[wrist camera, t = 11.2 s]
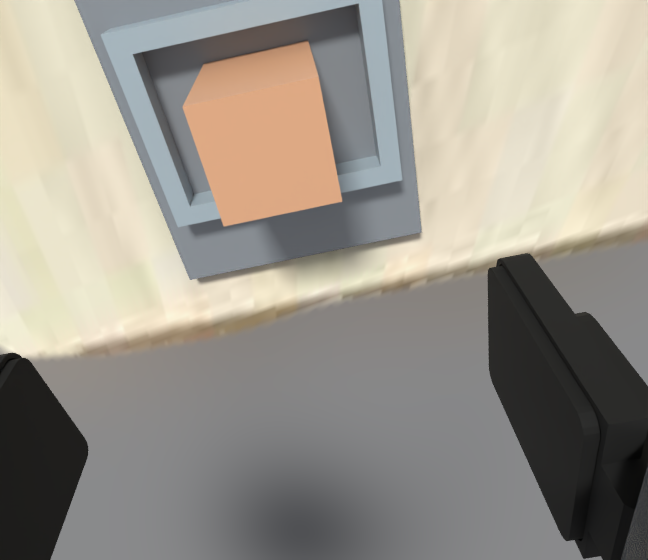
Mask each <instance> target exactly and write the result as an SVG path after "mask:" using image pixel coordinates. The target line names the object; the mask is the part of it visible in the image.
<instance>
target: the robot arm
mask: <svg viewBox="0 0 648 560" xmlns="http://www.w3.org/2000/svg"><path fill="white" fill-rule="evenodd" d="M488 324H489V325H488V331H489V332H488V333H489V371H490V376H491V379H492V383H493V385H494V387H495V390H496V392H497V394H498V396H499V398H500V400H501V403H502V405H503V407H504V409H505V411H506V414H507V416H508V418H509V421H510V423H511V425H512V427H513V429H514V432H515V434H516V436H517V438H518V440H519V443H520V445H521V447H522V449H523V452H524V454H525V456H526V458H527V460H528V462H529V465H530V467H531V469H532V471H533V474H534V476H535V478H536V480H537V482H538V485H539V487H540V489H541V491H542V494H543V496H544V498H545V500H546V502H547V505H548V507H549V509H550V511H551V514H552V516H553V518H554V520H555V522H556V524H557V527H558V529H559V531H560V533H561V535H562V536H563V538H564V539H565V540H566V541H570V540H575V542H576V544H577V546H578V548H579V550H580V552H581V555H582V557H583V558H584V559H585V558H591V557H597V556H601V557H602V559H603V560H648V386H647V385H646V383H645V382H644V381H643V379H642V378H641V377H640V376H639V374H638V373H637V372H636V371H635V369H634V368H633V367H632V366H631V364H630V363H629V362H628V360H627V359H626V358H625V356H624V355H623V354H622V353H621V351H620V350H619V349H618V348H617V346H616V345H615V344H614V342H613V341H612V340H611V338H610V337H609V336H608V335H607V333H606V332H605V331H604V330H603V328H602V327H601V326H600V324H599V323H598V322H597V321H596V319H595V318H593V316H591V315H590V314H589V313H586V312H582V313H577V314H574V312H573V311H572V309H571V308H570V307H569V305H568V304H567V303H566V301H565V300H564V299H563V297H562V296H561V295H560V293H559V292H558V291H557V289H556V288H555V286H554V285H553V284H552V282H551V281H550V280H549V279H548V277H547V276H546V274H545V273H544V272H543V270H542V269H541V268H540V266H539V265H538V263H537V262H536V261H535V259H534V258H533V257H532V256H531V255H530V254H528V253H526V254H520V255H515V256H510V257H505V258H500V259H498V261H497V266H496V267H493V268H489V270H488ZM87 456H88V445H87V442H86V440H85V438H84V437H83V435H82V434H81V432H80V431H79V430H78V428H77V427H76V425H75V424H74V422H73V421H72V420H71V418H70V417H69V415H68V414H67V413H66V411H65V410H64V408H63V407H62V406H61V404H60V403H59V402H58V400H57V398H56V397H55V396H54V394H53V393H52V391H51V390H50V389H49V387H48V386H47V384H46V383H45V382H44V380H43V379H42V377H41V376H40V375H39V373H38V372H37V370H36V369H35V367H34V366H33V365H32V363H31V362H30V361H29V360H28V359H26V358H22V357H21V356H20V355H18V354H16V353H8V354H2V355H0V560H50V559H51V556H52V553H53V551H54V548H55V545H56V542H57V540H58V537H59V534H60V531H61V529H62V526H63V523H64V520H65V518H66V515H67V512H68V509H69V507H70V504H71V501H72V498H73V496H74V493H75V490H76V487H77V484H78V482H79V479H80V476H81V473H82V470H83V468H84V465H85V463H86V460H87Z"/></svg>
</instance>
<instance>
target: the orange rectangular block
mask: <svg viewBox="0 0 648 560" xmlns="http://www.w3.org/2000/svg"><path fill="white" fill-rule="evenodd" d="M182 107H183V110H184V113H185V116H186V119H187V122H188V125H189V127H190V130H191V133H192V136H193V139H194V142H195V145H196V148H197V151H198V154H199V156H200V159H201V162H202V165H203V168H204V171H205V174H206V177H207V180H208V182H209V185H210V188H211V191H212V194H213V197H214V200H215V203H216V206H217V208H218V211H219V214H220V217H221V220H222V223H223V226H229V225H234V224H238V223H243V222H248V221H253V220H257V219H262V218H267V217H272V216H276V215H281V214H286V213H291V212H295V211H300V210H305V209H310V208H314V207H319V206H324V205H329V204H333V203H338V202H342V197H341V191H340V186H339V181H338V176H337V170H336V165H335V160H334V155H333V149H332V144H331V139H330V134H329V128H328V123H327V118H326V113H325V108H324V102H323V97H322V92H321V87H320V81H319V76H318V73H317V69H316V66H315V62H314V59H313V55H312V52H311V49H310V45H309V42H308V40H306V41H302V42H298V43H293V44H289V45H284V46H280V47H275V48H271V49H267V50H262V51H258V52H253V53H249V54H244V55H240V56H235V57H231V58H227V59H222V60H218V61H213V62H209V63H204V64H203V66H202V68H201V70H200V72H199V74H198V76H197V78H196V80H195V82H194V84H193V86H192V88H191V90H190V92H189V94H188V96H187V98H186V100H185V102H184V104H183V106H182Z"/></svg>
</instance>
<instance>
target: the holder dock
mask: <svg viewBox="0 0 648 560" xmlns="http://www.w3.org/2000/svg"><path fill="white" fill-rule="evenodd" d="M74 1H75V3H76V5H77V8H78V10H79V13H80V15H81V17H82V20H83V22H84V25H85V27H86V30H87V32H88V34H89V37H90V39H91V42H92V44H93V46H94V49H95V51H96V54H97V56H98V59H99V61H100V63H101V66H102V68H103V71H104V73H105V75H106V78H107V80H108V83H109V85H110V88H111V90H112V92H113V95H114V97H115V100H116V102H117V104H118V107H119V109H120V112H121V114H122V117H123V119H124V121H125V124H126V126H127V129H128V131H129V133H130V136H131V138H132V141H133V143H134V146H135V148H136V150H137V153H138V155H139V158H140V160H141V162H142V165H143V167H144V170H145V172H146V175H147V177H148V179H149V182H150V184H151V187H152V189H153V191H154V194H155V196H156V199H157V201H158V204H159V206H160V208H161V211H162V213H163V216H164V218H165V220H166V223H167V225H168V228H169V230H170V233H171V235H172V237H173V240H174V242H175V245H176V247H177V249H178V252H179V254H180V257H181V259H182V262H183V264H184V266H185V269H186V271H187V274H188V276H189V278H190V280H192V279H197V278H202V277H207V276H211V275H216V274H221V273H226V272H231V271H236V270H241V269H246V268H250V267H255V266H260V265H265V264H270V263H275V262H280V261H284V260H289V259H294V258H299V257H304V256H309V255H314V254H319V253H323V252H328V251H333V250H338V249H343V248H348V247H353V246H358V245H362V244H367V243H372V242H377V241H382V240H387V239H392V238H397V237H401V236H406V235H411V234H416V233H421V222H420V211H419V201H418V191H417V180H416V170H415V159H414V149H413V139H412V128H411V118H410V107H409V97H408V87H407V76H406V66H405V55H404V45H403V35H402V24H401V14H400V3H399V0H74ZM306 40H308V42H309V45H310V49H311V52H312V55H313V59H314V62H315V66H316V69H317V73H318V76H319V81H320V87H321V92H322V97H323V102H324V108H325V113H326V118H327V123H328V128H329V134H330V139H331V144H332V149H333V155H334V160H335V165H336V170H337V176H338V181H339V186H340V191H341V197H342V202H338V203H333V204H329V205H324V206H319V207H314V208H310V209H305V210H300V211H295V212H291V213H286V214H281V215H276V216H272V217H267V218H262V219H257V220H253V221H248V222H243V223H238V224H234V225H229V226H223V223H222V220H221V217H220V214H219V211H218V208H217V206H216V203H215V200H214V197H213V194H212V191H211V188H210V185H209V182H208V180H207V177H206V174H205V171H204V168H203V165H202V162H201V159H200V156H199V154H198V151H197V148H196V145H195V142H194V139H193V136H192V133H191V130H190V127H189V125H188V122H187V119H186V116H185V113H184V110H183V107H182V106H183V104H184V102H185V100H186V98H187V96H188V94H189V92H190V90H191V88H192V86H193V84H194V82H195V80H196V78H197V76H198V74H199V72H200V70H201V68H202V66H203V64H204V63H209V62H213V61H218V60H222V59H227V58H231V57H235V56H240V55H244V54H249V53H253V52H258V51H262V50H267V49H271V48H275V47H280V46H284V45H289V44H293V43H298V42H302V41H306Z"/></svg>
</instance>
